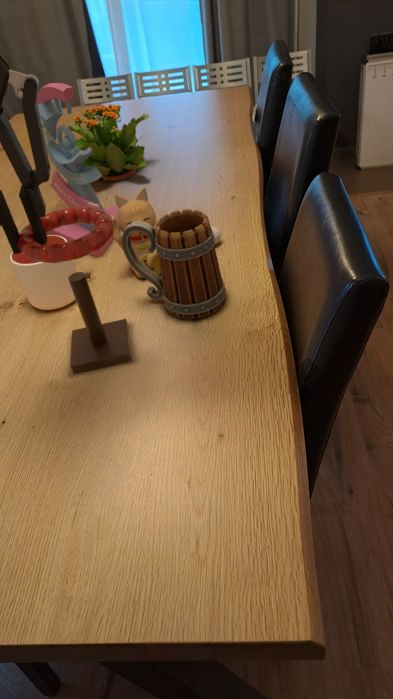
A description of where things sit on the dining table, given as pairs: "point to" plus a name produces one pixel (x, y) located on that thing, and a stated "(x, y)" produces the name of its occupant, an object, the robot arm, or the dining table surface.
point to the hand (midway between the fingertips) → (31, 245)
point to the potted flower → (110, 142)
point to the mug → (181, 263)
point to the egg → (216, 234)
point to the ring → (71, 248)
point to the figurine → (139, 241)
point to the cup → (45, 279)
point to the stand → (96, 333)
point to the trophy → (69, 162)
